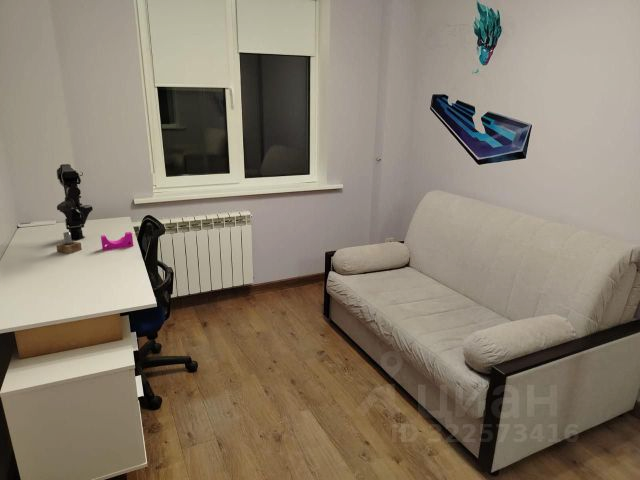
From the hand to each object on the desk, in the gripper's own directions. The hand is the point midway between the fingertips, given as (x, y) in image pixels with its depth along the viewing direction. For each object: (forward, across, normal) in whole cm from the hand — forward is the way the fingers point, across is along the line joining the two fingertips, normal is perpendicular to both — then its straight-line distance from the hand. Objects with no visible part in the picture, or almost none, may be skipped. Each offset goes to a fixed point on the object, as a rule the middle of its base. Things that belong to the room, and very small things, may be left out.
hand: (77, 223), depth 238 cm
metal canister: (+13, +1, -8) cm, 15 cm away
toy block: (+14, +19, +7) cm, 24 cm away
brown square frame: (+13, +1, -8) cm, 15 cm away
